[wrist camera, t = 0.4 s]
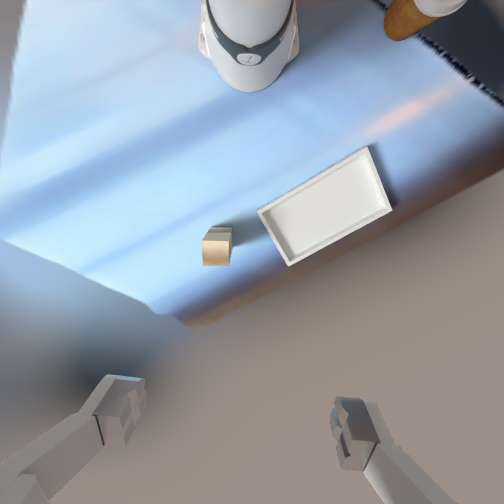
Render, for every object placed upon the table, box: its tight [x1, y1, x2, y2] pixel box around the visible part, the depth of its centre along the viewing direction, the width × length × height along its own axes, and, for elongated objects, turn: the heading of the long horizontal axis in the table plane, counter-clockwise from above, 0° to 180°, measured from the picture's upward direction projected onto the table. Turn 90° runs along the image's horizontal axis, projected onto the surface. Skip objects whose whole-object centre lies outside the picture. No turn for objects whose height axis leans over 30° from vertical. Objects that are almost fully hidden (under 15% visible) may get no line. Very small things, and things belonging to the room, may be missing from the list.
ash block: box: [202, 227, 233, 266], centre depth 50 cm, size 5×5×12 cm
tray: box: [256, 147, 392, 266], centre depth 53 cm, size 26×15×3 cm, turn 121°
